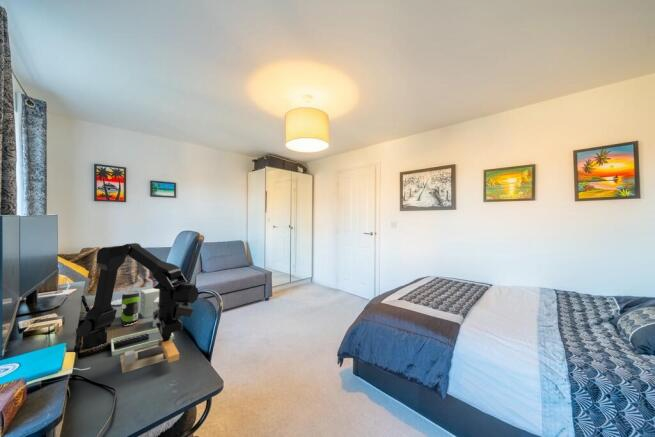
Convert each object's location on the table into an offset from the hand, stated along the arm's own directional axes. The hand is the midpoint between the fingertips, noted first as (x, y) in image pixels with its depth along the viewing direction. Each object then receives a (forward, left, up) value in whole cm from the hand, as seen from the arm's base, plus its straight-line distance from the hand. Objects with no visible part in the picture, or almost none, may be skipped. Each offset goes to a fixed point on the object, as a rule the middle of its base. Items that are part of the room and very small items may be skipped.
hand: (166, 342), depth 90 cm
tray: (-5, +16, -5) cm, 17 cm away
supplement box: (+1, +49, -5) cm, 49 cm away
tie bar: (0, -7, -1) cm, 7 cm away
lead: (-5, +2, -4) cm, 6 cm away
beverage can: (-8, +41, -5) cm, 42 cm away
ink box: (+3, +34, -5) cm, 35 cm away
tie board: (-5, +2, -5) cm, 7 cm away
